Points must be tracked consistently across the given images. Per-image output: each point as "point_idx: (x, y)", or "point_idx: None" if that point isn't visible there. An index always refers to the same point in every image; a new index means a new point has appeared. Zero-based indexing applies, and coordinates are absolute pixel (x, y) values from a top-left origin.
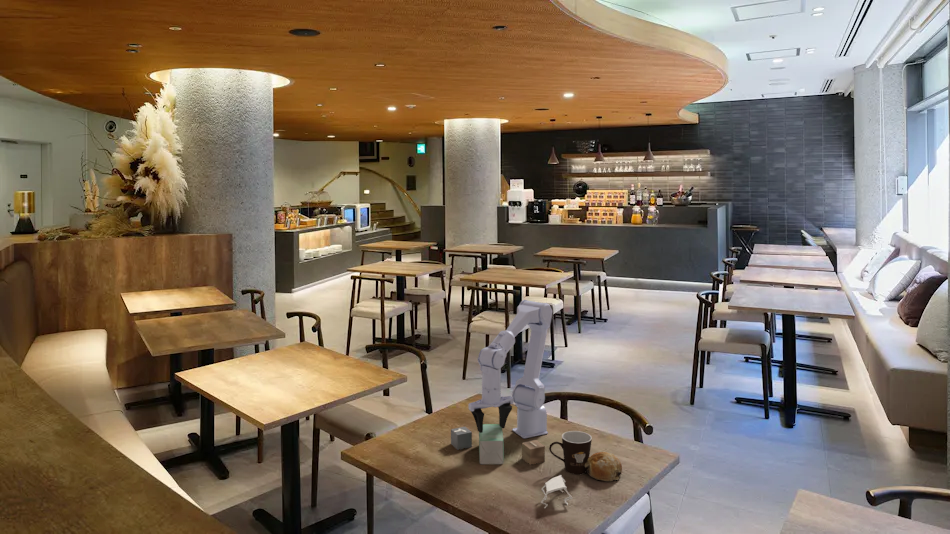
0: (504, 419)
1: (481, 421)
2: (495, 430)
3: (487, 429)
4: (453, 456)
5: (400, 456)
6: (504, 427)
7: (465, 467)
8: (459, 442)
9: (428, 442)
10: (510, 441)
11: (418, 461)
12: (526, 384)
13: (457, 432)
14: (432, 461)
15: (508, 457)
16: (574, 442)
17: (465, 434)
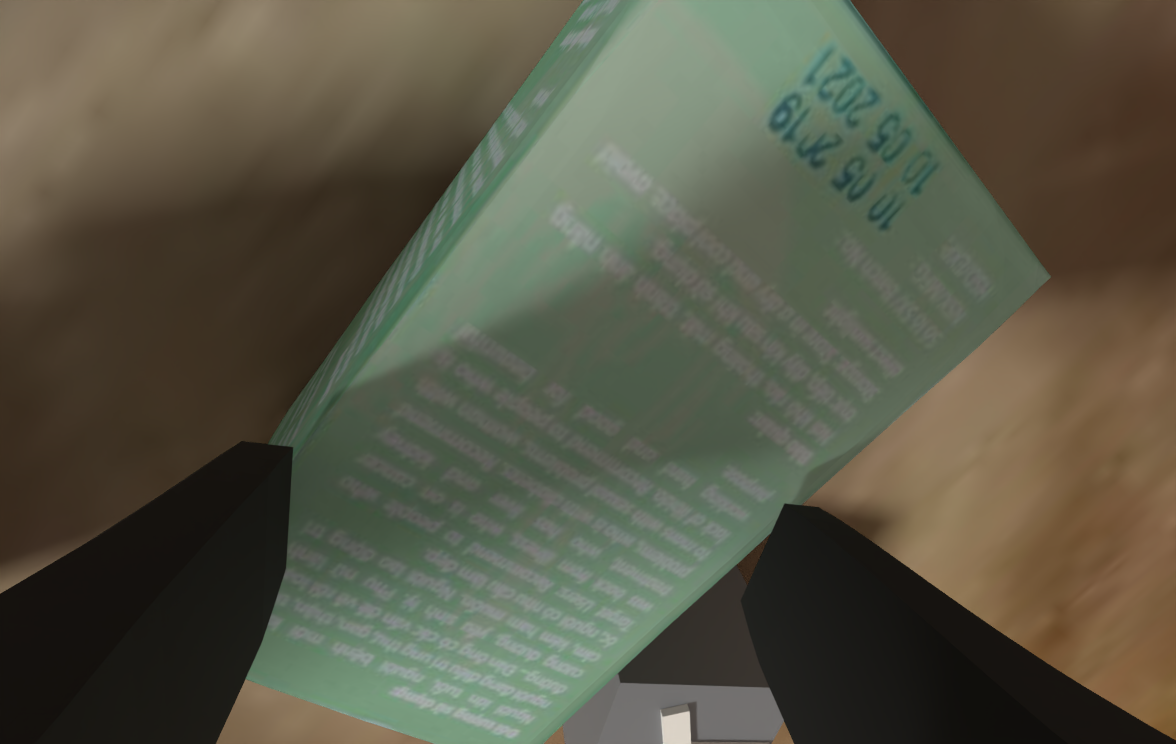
0: (146, 593)
1: (1071, 706)
2: (468, 480)
3: (563, 582)
4: (851, 478)
5: (1072, 655)
6: (237, 445)
7: None
8: (738, 610)
9: (788, 739)
10: (113, 441)
11: (1079, 545)
12: None
13: (749, 732)
14: (1026, 494)
15: (418, 88)
16: None
17: (697, 673)
